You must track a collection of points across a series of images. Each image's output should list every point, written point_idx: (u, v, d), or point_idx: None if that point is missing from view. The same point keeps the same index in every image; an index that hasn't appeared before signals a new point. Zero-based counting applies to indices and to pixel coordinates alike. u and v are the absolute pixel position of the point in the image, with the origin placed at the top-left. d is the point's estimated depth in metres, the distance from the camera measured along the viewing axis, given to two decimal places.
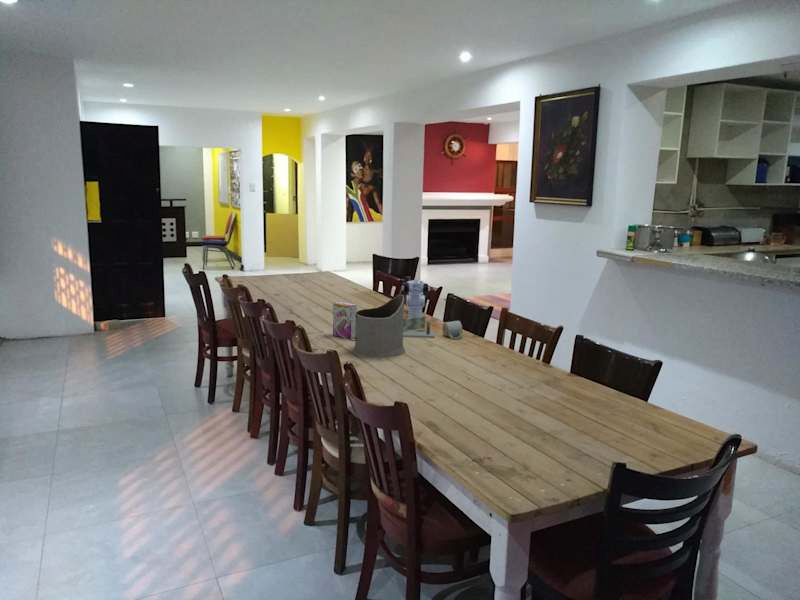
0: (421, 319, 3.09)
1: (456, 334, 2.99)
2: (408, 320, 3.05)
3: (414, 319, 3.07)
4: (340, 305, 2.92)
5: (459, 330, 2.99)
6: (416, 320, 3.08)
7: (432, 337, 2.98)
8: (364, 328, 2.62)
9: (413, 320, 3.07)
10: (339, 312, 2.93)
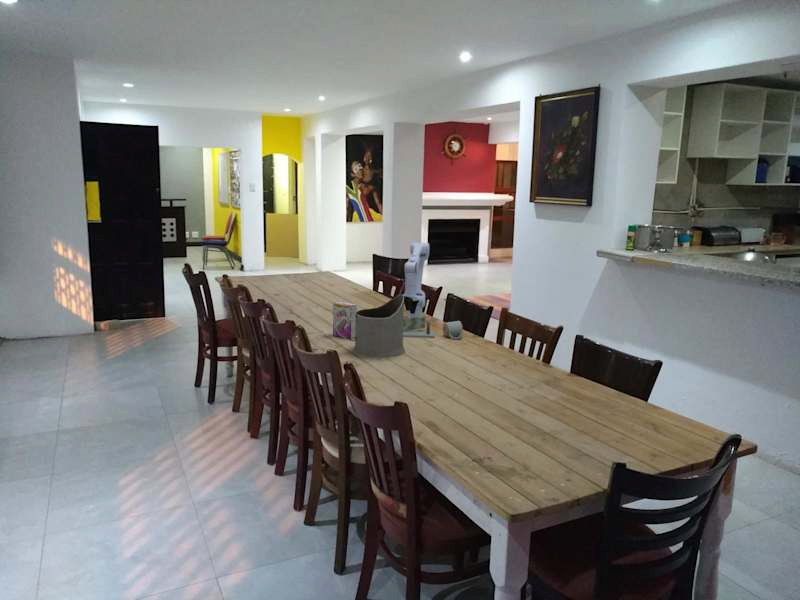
0: (421, 319, 3.09)
1: (456, 334, 2.99)
2: (408, 320, 3.05)
3: (414, 319, 3.07)
4: (340, 305, 2.92)
5: (459, 330, 2.98)
6: (416, 320, 3.08)
7: (432, 337, 2.98)
8: (364, 328, 2.62)
9: (413, 320, 3.07)
10: (339, 312, 2.93)
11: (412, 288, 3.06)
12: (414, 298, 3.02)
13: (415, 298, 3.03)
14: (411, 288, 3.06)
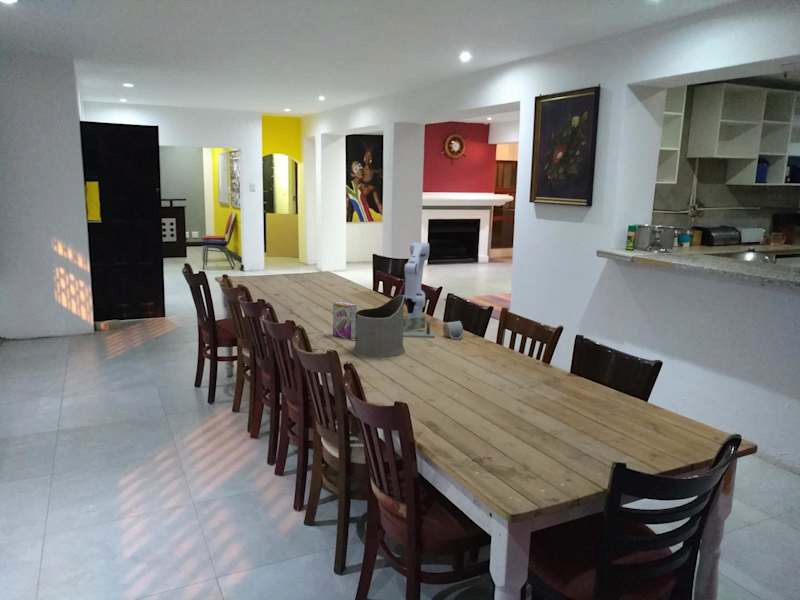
0: (421, 319, 3.09)
1: (457, 334, 2.99)
2: (408, 320, 3.05)
3: (414, 319, 3.07)
4: (340, 305, 2.92)
5: (460, 330, 2.98)
6: (416, 320, 3.08)
7: (432, 337, 2.98)
8: (364, 328, 2.62)
9: (413, 320, 3.07)
10: (339, 312, 2.93)
11: (412, 289, 3.06)
12: (414, 299, 3.02)
13: (415, 299, 3.03)
14: (411, 289, 3.06)
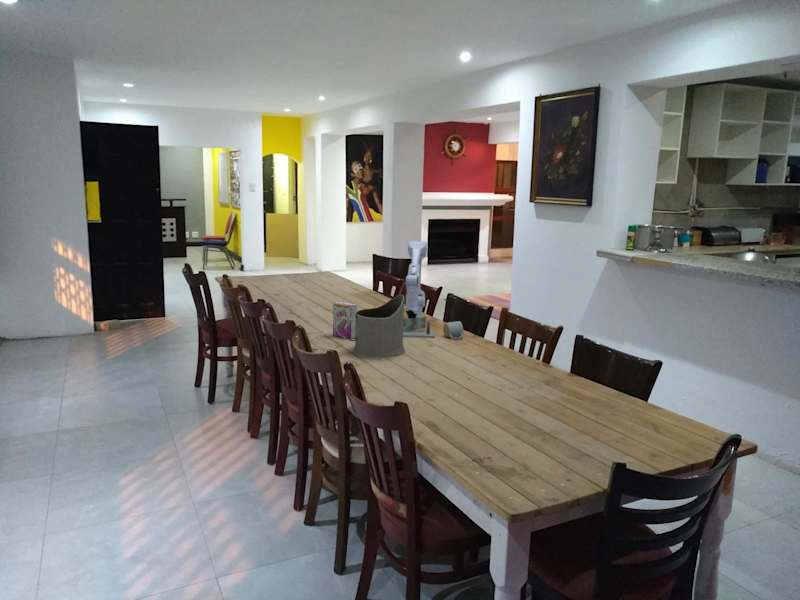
0: (421, 319, 3.09)
1: (457, 335, 2.98)
2: (408, 320, 3.05)
3: (414, 319, 3.06)
4: (340, 305, 2.92)
5: (460, 331, 2.98)
6: (417, 320, 3.07)
7: (432, 337, 2.98)
8: (364, 328, 2.62)
9: (413, 320, 3.06)
10: (339, 312, 2.93)
11: (413, 301, 3.04)
12: (415, 311, 3.01)
13: (416, 311, 3.01)
14: (412, 301, 3.04)
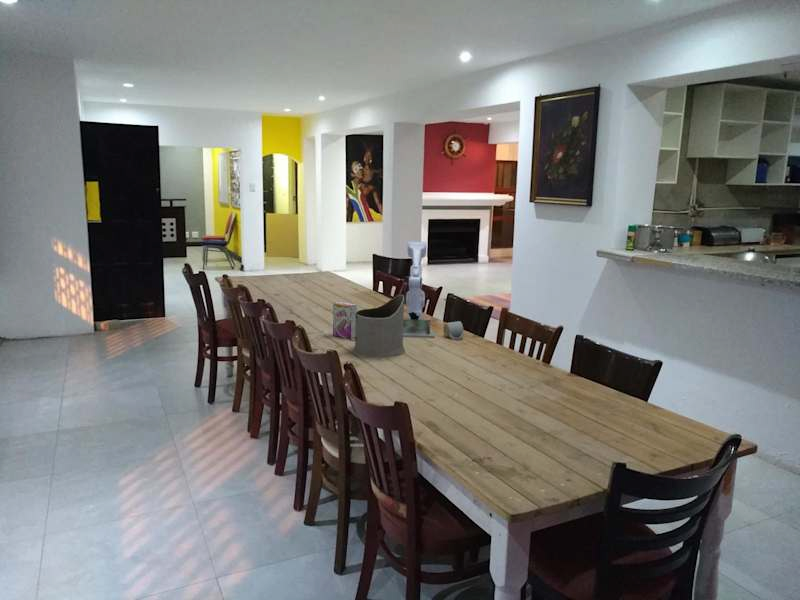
0: (425, 322, 3.03)
1: (457, 335, 2.98)
2: (409, 321, 3.02)
3: (416, 321, 3.03)
4: (340, 305, 2.92)
5: (460, 331, 2.97)
6: (419, 322, 3.03)
7: (432, 337, 2.98)
8: (364, 328, 2.62)
9: (415, 322, 3.03)
10: (339, 312, 2.93)
11: (416, 303, 3.00)
12: (418, 313, 2.97)
13: (419, 313, 2.97)
14: (415, 303, 3.00)
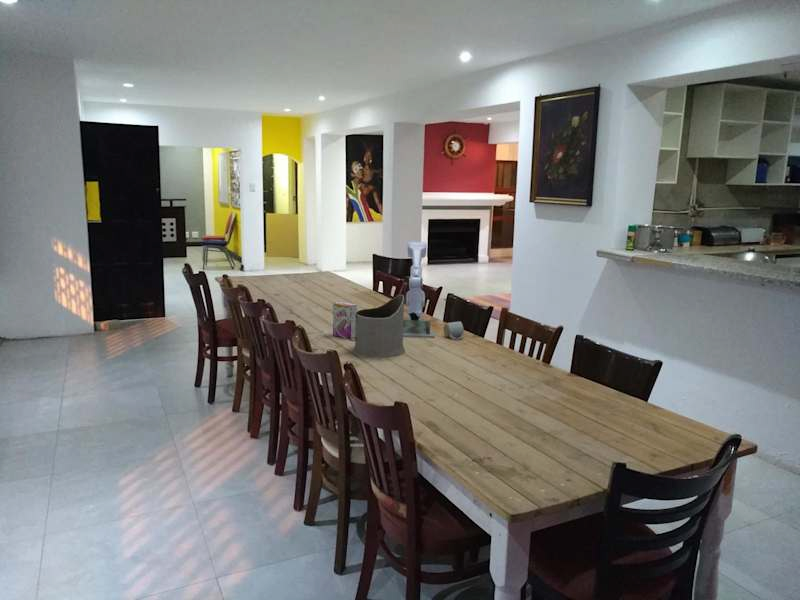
0: (425, 323, 3.02)
1: (457, 335, 2.98)
2: (409, 321, 3.02)
3: (416, 321, 3.02)
4: (340, 305, 2.92)
5: (460, 331, 2.97)
6: (419, 323, 3.02)
7: (432, 337, 2.98)
8: (364, 328, 2.62)
9: (415, 322, 3.02)
10: (339, 312, 2.93)
11: (416, 303, 3.00)
12: (418, 314, 2.96)
13: (419, 314, 2.96)
14: (415, 303, 3.00)
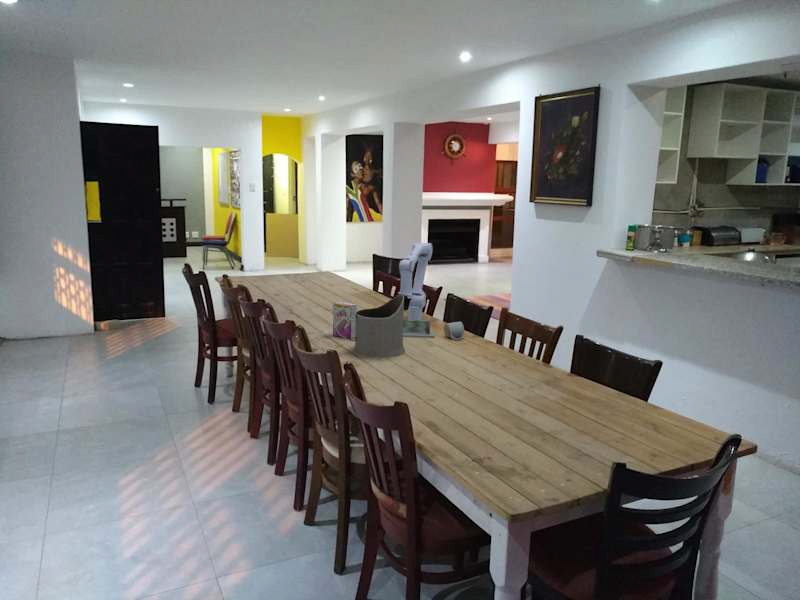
0: (425, 323, 3.02)
1: (458, 335, 2.97)
2: (409, 321, 3.02)
3: (416, 321, 3.02)
4: (340, 305, 2.92)
5: (461, 331, 2.97)
6: (419, 323, 3.02)
7: (432, 337, 2.98)
8: (364, 328, 2.62)
9: (415, 322, 3.02)
10: (339, 312, 2.93)
11: (407, 286, 3.06)
12: (409, 296, 3.02)
13: (410, 296, 3.03)
14: (406, 286, 3.06)
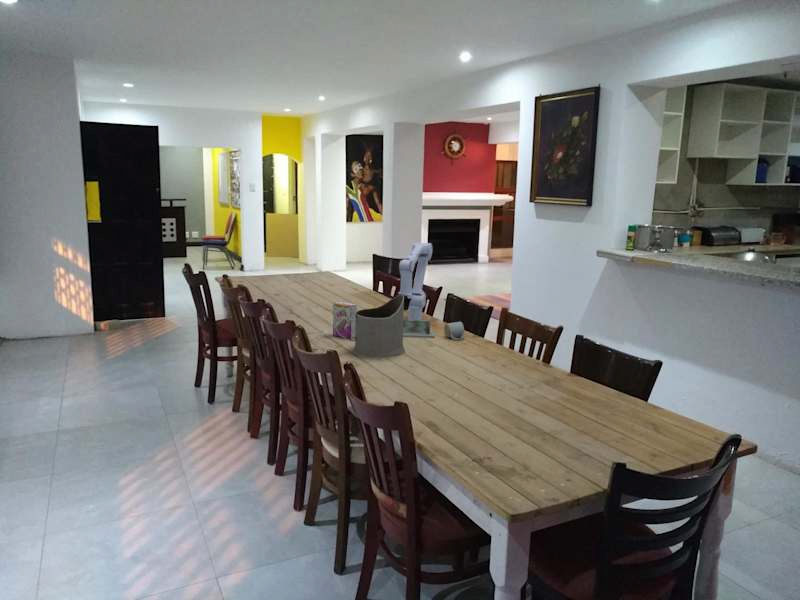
0: (425, 323, 3.02)
1: (458, 335, 2.97)
2: (409, 321, 3.02)
3: (416, 321, 3.02)
4: (340, 305, 2.92)
5: (461, 331, 2.96)
6: (419, 323, 3.02)
7: (432, 337, 2.98)
8: (364, 328, 2.62)
9: (415, 322, 3.02)
10: (339, 312, 2.93)
11: (407, 286, 3.06)
12: (409, 296, 3.02)
13: (410, 296, 3.03)
14: (406, 286, 3.06)
